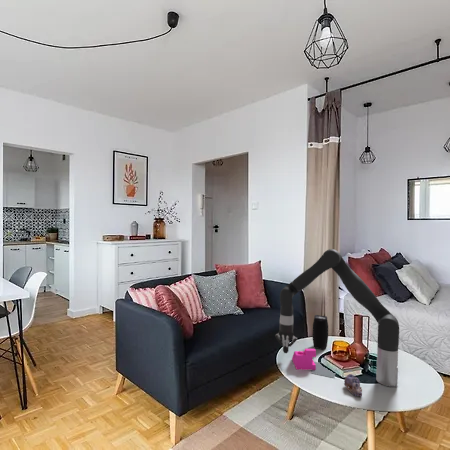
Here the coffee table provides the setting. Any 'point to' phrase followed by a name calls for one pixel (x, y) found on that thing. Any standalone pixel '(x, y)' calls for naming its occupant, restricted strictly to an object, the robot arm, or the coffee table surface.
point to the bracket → (304, 359)
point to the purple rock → (353, 385)
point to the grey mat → (322, 371)
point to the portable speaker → (320, 332)
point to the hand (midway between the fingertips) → (285, 352)
